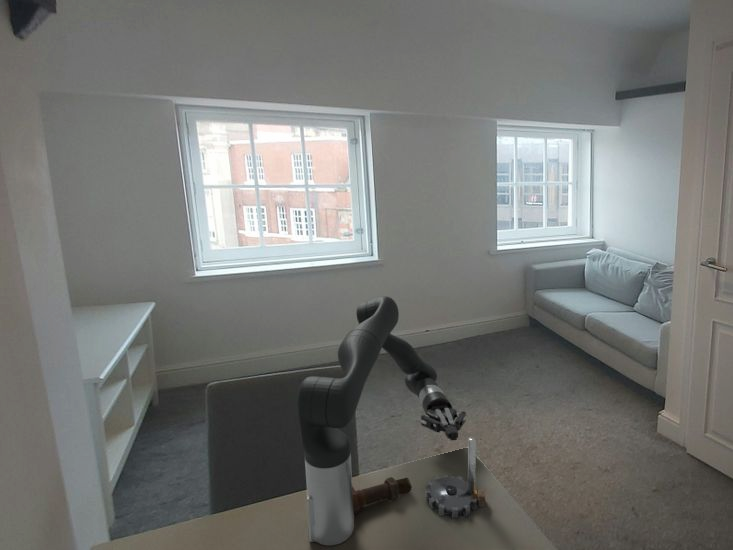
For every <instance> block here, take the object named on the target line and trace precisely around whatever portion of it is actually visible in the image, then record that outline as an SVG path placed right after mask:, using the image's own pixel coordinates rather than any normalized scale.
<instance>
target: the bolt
mask: <svg viewBox="0 0 733 550" xmlns="http://www.w3.org/2000/svg"><path fill="white" fill-rule="evenodd" d="M412 487H413V485H412V483H411V481H410V479H409V477H403V478H399V479H395V478H393V477H392V476H390V477H386V479H385V480H384V482H383V483H380V484H377V485H374V486H370V487H367V488H363V489H357V490H355V488H354V487H353V485H352V493H353V514H354V516H356V515H358V513H359V511H360V508H362V507H365V506H368V505H371V504H373V503H378V502H382V501H385V500H387V499H388V500H389V501H390V502H391V503H392V502H395V501H398V500H399V498H400V496H401V495H405V494H408V493H410V492H411V491H412Z"/></svg>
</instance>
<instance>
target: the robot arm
mask: <svg viewBox="0 0 733 550" xmlns="http://www.w3.org/2000/svg"><path fill="white" fill-rule="evenodd" d="M355 313H356V319H357V322H358V324H357V325H356V326H354V327H353V328H352V329H351V330H349V332H348V333H347V334H346V335H345V337H344V339H343V340H342V342H340V345H339V347H338V349H337V359H338V363H339V365H340V368H341V370H342V371H343V373H344V375H345V376H344V377H342V378H336V377H327V376H307V377H306V378H304V380H302V381H301V383H300V386H299V388H298V392H297V400H296V409H297V410H296V412H297V420H298V427H299V434H300V443H301V449H302V451H303V454H304V466H305V481H306V482H305V483H306V506H307V507H306V509H307V511H306V512H307V525H308V535H309V543H310V542H311V543H313V542H314V543H315V542H316V543H318V544H320V545H322V546H336V545H339V544H342V543H344V542H346V541H347V540H349V538H350V537H351V536H352V534H353V532H354V529H355V515H354V514H353V493H352V486H353V475H352V454H351V451H352V450H351V441H350V438H349V437H348V435H347V434H346V433H344V432H343V431H342V430H340V429H344V428H345V427H347V426H348V425H349V424H350V423H351V422H352V420H353V419H354V416H355V413H356V410H357V407H358V405H359V402H360V400H361V399H360V398H361V396H362V393H363V390H364V387H365V384H366V382H367V379H368V378H369V376H370V373H371V371H372V370H373V367H374V365H375V363H376V362H377V359H378V357H379V355H380V354H381V351H382V350H384V351H385V352H386V353H387V354H388V355H389V356H390V357H391V358H392V359H393V361H394V362H395V364H396V365H397V366H398V367H399V369H400V370H401V372H403V373H404V374H405V376H404V383H405V386H406V388H407V389H408V390H409V391H410V392H411V393H412V394H414V395H416V396H417V398H418V400H419V402H420V407H422V409H423V411H424V413H425V415H423V414H422V415H420V424H421V426H422V427H424V428H426V429H429V430H432V431H433V432H436V433H441V432H443V434H444V435H445V437H446V438H447V439H449V440H450V441H457V440H458V439H459V431H460V430H461V429H462V427H463V426H464V424H465V423H466V421H467V413H466V411H464V410H463V411H461V412H457V410H456V409H455V408H453V406H452V403H451V402H450V400H449V399H448V397H447V395H446V394H445V393H444V391H443V390H442V389H441V388H440V387H439V385H438V383H437V382H436V381H437V379H438V374H437V371H436V370H435V368H434V367H433V366H432V365H431V364H429V363H428V362H426V361H425V360H423V359H422V358H421V357H420V356H419V354H418V353H417V352H416V350H415V349H414V347H413V346H412V345H411V344H410V343H409V342H408V341H406V340H404V339H403V338H401V337H398V336H396V335H394V334H392V331H393V330H394V329H395V328H396V326H397V324H398V321H399V313H400V312H399V307H398V304H397V302H396V301H395V300H394V299H393V298H392V297H391V296H379V297H377V298H374V299H371V300H369V301H365V302H362V303H360V304H359V305H358V306H357V308H356V312H355ZM434 425H435V426H434Z"/></svg>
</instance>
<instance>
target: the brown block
mask: <svg viewBox="0 0 733 550" xmlns="http://www.w3.org/2000/svg"><path fill="white" fill-rule="evenodd" d="M485 492H486V491H485V490H482V489H479V490H478V506H479V507H482V508H483V507H485V506H486V497H485V496H486V493H485Z"/></svg>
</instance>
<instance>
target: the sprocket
mask: <svg viewBox="0 0 733 550" xmlns="http://www.w3.org/2000/svg"><path fill="white" fill-rule="evenodd" d="M467 441H468V443H467V444H468V445H467V482H466V481H465V480H464V477H462V476H457V477H452V475H451V474H445V476H444V477H441V476H439V475H437V476H435V477H433V478H434V479H433V480H434V481H428V482H427V484H426V486H427V487H426V489H425V499H426V501H428V506H429V507H430V509H432V510H434V509H436V510H438V514H439V515H440V516H442V517H444V516H445V515H446V514H447V515H451V517H452V519H453V518H455V519H456V518H459V515H464V516H465V517H468V516H469V515H471V509H472V510H473V511H474V510H476V509H477V506H478V492H477V491H478V490H477V489H476V462H477V461H476V459H477V458H476V456H477V449H476V448H477V439H476V437H473V436H471V437H468V440H467Z"/></svg>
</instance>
